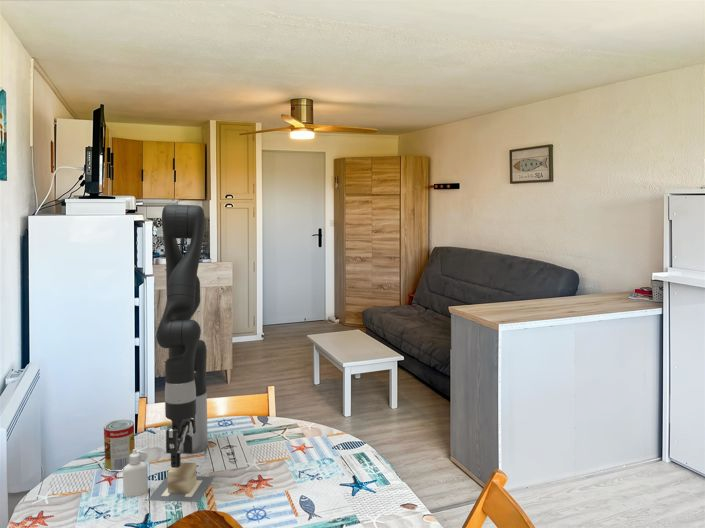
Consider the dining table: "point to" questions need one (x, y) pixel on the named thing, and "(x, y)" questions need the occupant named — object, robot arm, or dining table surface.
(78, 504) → the dining table surface
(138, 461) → the eye dropper bottle
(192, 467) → the maple block
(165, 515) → the dining table surface
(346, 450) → the dining table surface
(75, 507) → the dining table surface
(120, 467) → the canned food
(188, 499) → the letter board
